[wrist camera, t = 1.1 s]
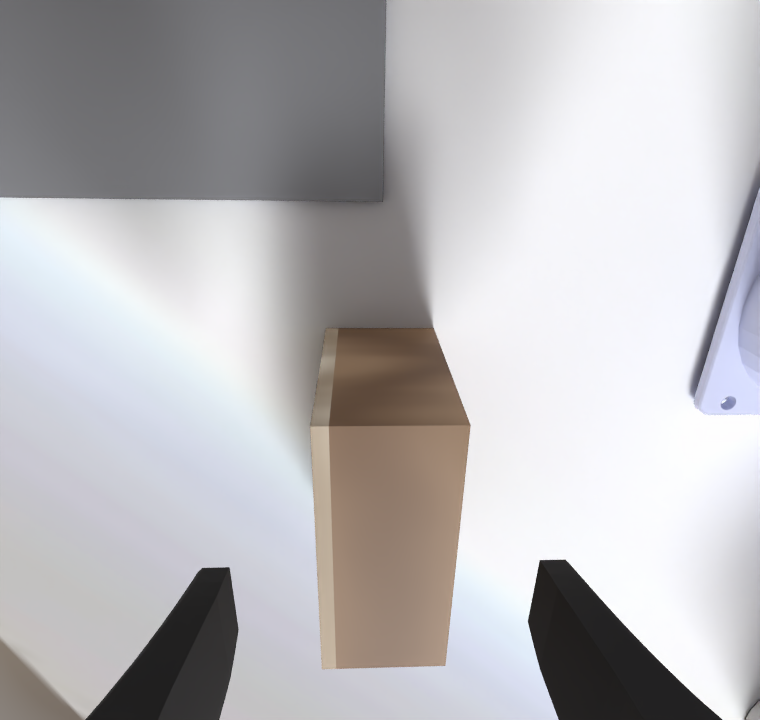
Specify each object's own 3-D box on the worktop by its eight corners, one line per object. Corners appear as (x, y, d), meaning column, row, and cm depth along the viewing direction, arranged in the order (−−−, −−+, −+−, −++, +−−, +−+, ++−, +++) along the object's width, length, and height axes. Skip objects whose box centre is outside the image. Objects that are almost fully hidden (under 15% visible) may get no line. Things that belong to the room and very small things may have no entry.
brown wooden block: (433, 327, 17) (470, 425, 11) (421, 518, 20) (445, 665, 14) (326, 327, 16) (310, 426, 11) (331, 519, 20) (321, 669, 14)
